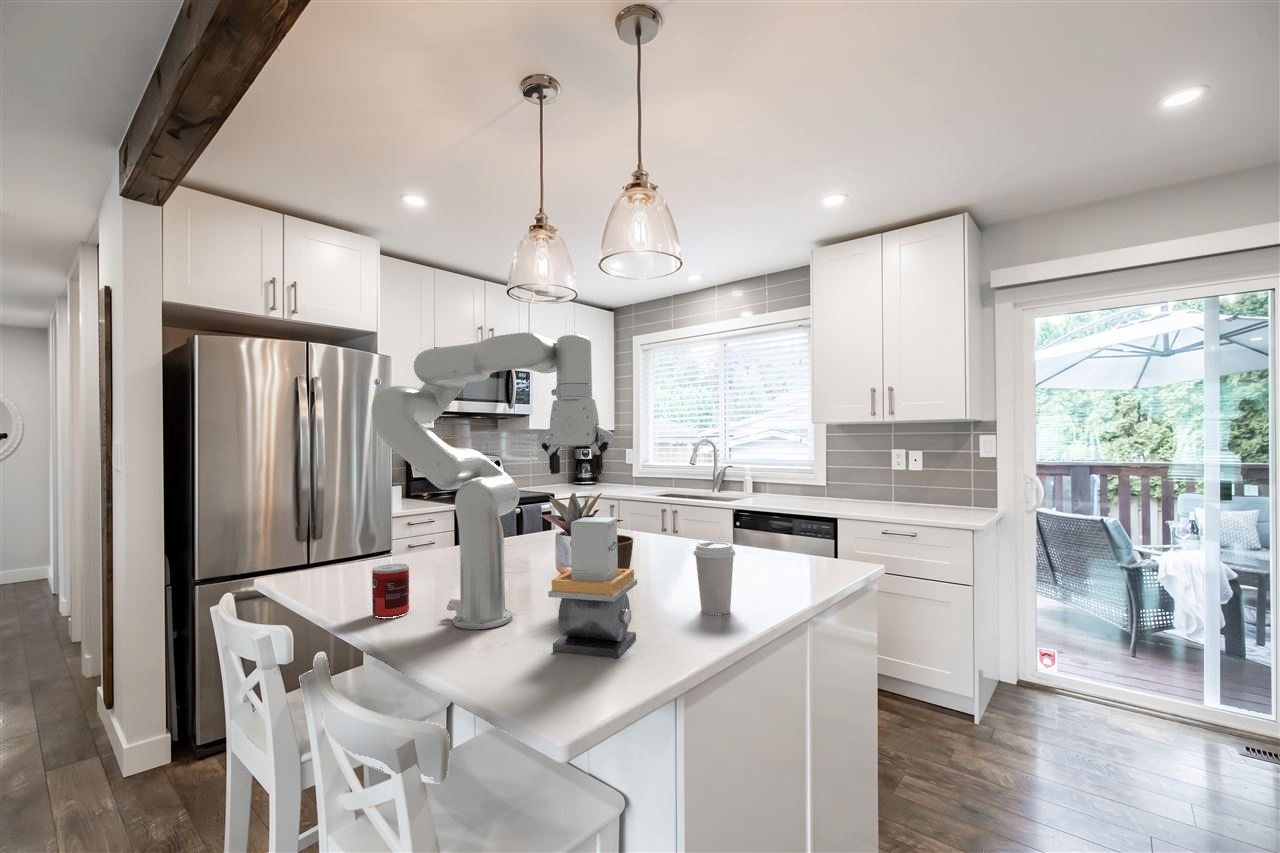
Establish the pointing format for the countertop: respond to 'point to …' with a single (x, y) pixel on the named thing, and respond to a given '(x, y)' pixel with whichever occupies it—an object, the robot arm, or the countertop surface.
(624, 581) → the tray on grey cylinder
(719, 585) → the coffee cup
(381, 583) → the canned food
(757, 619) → the countertop surface
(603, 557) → the supplement box
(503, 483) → the robot arm
